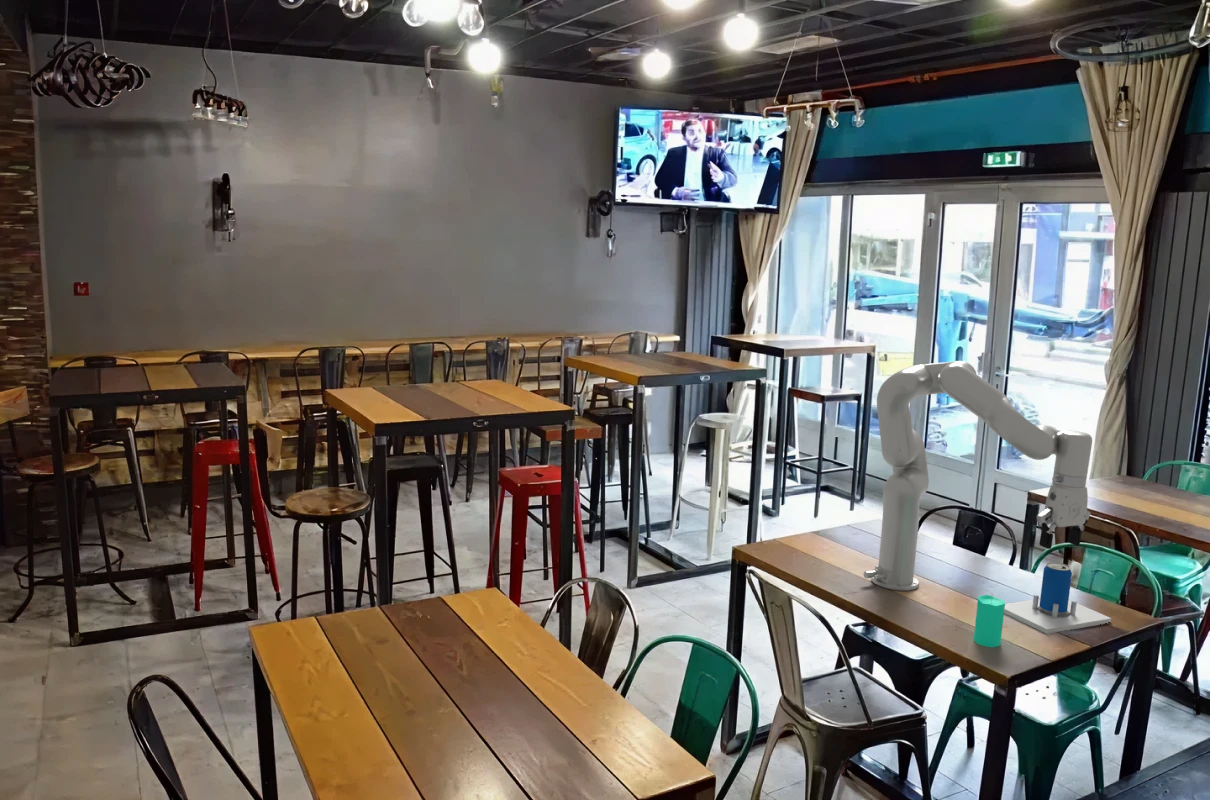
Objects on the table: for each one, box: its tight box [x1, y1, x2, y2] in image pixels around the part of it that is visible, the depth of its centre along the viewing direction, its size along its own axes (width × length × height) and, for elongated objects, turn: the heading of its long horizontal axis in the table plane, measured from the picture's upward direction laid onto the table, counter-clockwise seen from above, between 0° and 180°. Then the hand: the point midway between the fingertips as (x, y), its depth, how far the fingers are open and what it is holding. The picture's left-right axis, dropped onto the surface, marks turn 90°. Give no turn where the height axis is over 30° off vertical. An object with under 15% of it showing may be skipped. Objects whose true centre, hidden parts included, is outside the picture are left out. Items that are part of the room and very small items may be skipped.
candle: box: [973, 593, 1006, 648], centre depth 223 cm, size 6×6×12 cm
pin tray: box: [1004, 594, 1112, 635], centre depth 241 cm, size 22×16×5 cm
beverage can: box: [1039, 561, 1073, 615], centre depth 240 cm, size 6×6×12 cm
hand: (1059, 545), depth 239 cm, fingers open, 9 cm apart
